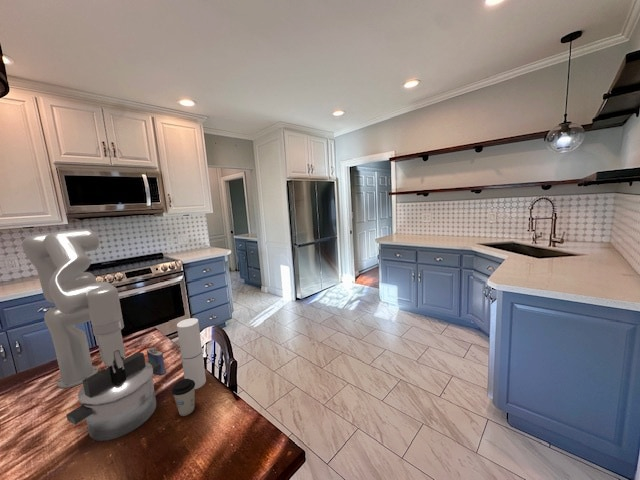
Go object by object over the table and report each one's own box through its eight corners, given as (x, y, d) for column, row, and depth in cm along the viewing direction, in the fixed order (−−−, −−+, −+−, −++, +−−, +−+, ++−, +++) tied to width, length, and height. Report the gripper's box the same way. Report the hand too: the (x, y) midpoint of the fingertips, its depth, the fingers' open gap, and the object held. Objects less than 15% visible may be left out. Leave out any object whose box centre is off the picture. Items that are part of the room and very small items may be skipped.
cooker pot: (60, 440, 79) (52, 405, 78) (144, 384, 103) (140, 355, 101) (96, 460, 72) (87, 422, 71) (177, 395, 96) (173, 365, 94)
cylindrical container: (198, 390, 98) (189, 327, 94) (181, 388, 99) (172, 326, 95) (209, 377, 105) (202, 318, 101) (193, 376, 106) (185, 317, 102)
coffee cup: (193, 399, 94) (190, 373, 92) (201, 409, 89) (197, 382, 87) (172, 410, 89) (168, 384, 87) (179, 422, 84) (174, 394, 82)
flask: (167, 372, 109) (163, 348, 108) (159, 376, 107) (155, 352, 105) (154, 366, 114) (150, 343, 112) (147, 370, 111) (143, 347, 110)
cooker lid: (99, 414, 73) (95, 394, 72) (66, 394, 81) (62, 377, 80) (165, 372, 90) (163, 355, 89) (132, 359, 98) (129, 344, 97)
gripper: (87, 323, 85) (97, 374, 88) (99, 339, 74) (110, 397, 77) (115, 315, 91) (124, 363, 94) (130, 328, 80) (140, 383, 83)
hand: (118, 378), depth 85 cm, fingers closed on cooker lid, 3 cm apart
